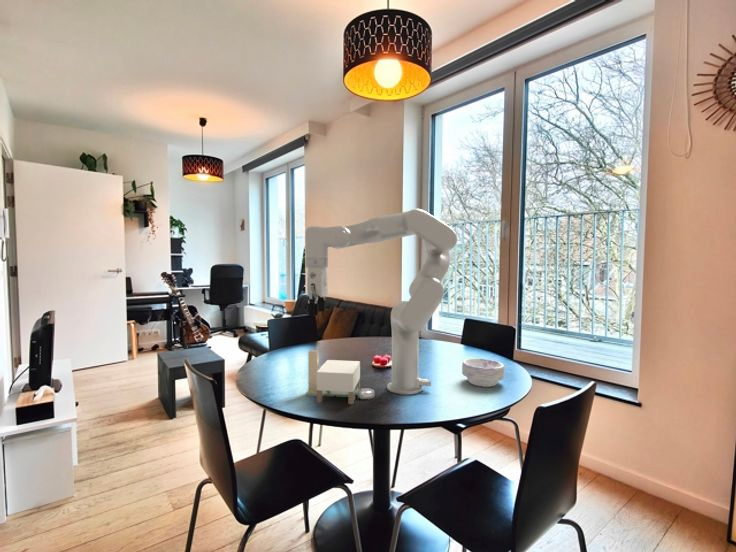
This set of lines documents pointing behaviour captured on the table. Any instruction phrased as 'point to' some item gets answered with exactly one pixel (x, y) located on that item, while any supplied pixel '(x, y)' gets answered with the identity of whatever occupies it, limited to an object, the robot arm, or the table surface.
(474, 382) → the paper bowls
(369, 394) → the silver dome
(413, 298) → the robot arm
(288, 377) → the table surface
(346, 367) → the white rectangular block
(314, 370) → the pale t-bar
